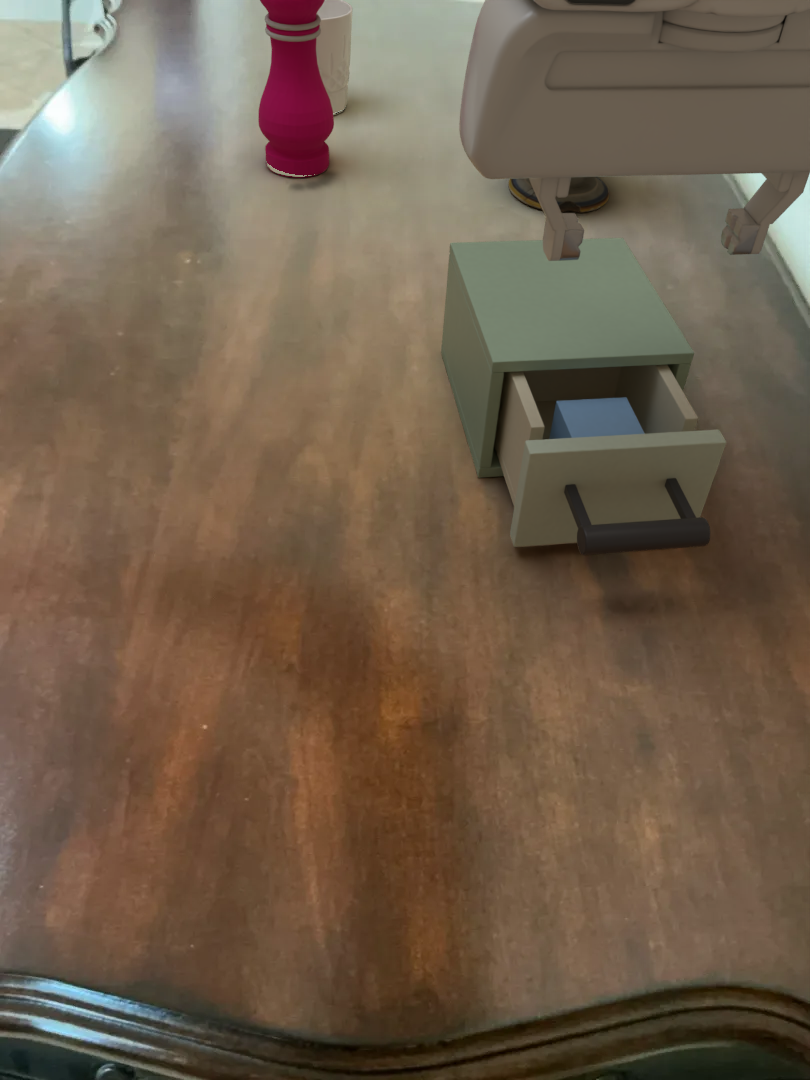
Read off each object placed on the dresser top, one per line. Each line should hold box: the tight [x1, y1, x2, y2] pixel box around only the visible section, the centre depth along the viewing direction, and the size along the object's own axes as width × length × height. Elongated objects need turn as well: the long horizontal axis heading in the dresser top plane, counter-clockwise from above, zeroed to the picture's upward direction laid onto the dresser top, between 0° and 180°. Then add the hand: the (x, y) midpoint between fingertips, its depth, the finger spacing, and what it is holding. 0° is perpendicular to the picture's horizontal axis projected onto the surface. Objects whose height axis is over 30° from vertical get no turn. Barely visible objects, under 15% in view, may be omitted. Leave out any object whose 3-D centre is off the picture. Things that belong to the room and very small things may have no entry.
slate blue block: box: [549, 397, 645, 439], centre depth 60 cm, size 4×4×4 cm
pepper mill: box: [258, 0, 335, 179], centre depth 90 cm, size 7×7×20 cm
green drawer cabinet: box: [440, 237, 695, 479], centre depth 67 cm, size 15×13×9 cm
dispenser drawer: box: [494, 364, 727, 556], centre depth 59 cm, size 18×11×7 cm, turn 8°
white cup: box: [316, 0, 354, 116], centre depth 104 cm, size 8×8×10 cm
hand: (650, 252), depth 49 cm, fingers open, 8 cm apart
